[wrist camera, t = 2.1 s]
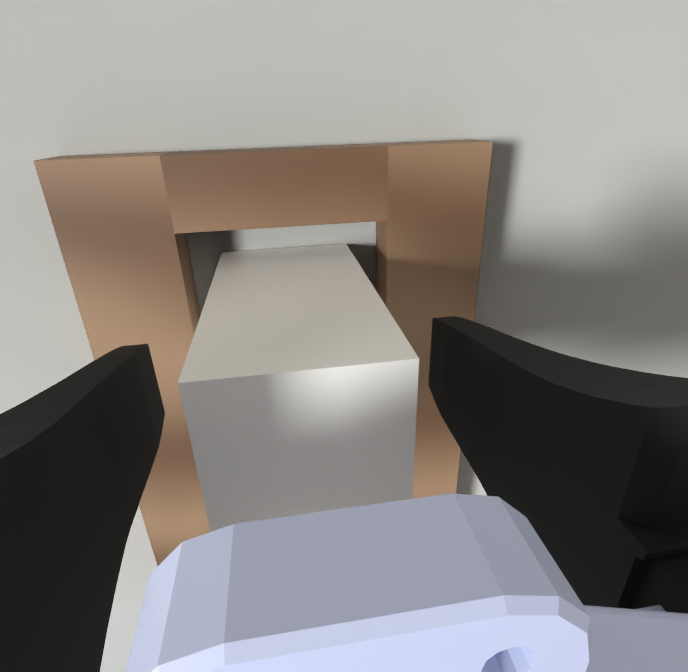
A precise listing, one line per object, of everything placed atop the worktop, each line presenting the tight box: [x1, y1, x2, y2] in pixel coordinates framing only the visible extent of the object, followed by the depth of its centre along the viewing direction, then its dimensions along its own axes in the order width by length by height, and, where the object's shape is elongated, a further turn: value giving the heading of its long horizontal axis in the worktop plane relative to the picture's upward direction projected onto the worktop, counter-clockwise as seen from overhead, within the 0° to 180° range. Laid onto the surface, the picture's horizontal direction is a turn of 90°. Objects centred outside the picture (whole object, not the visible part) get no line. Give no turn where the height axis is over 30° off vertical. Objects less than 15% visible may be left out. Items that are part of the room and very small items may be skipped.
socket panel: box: [34, 140, 493, 566], centre depth 17 cm, size 20×12×2 cm, turn 2°
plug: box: [178, 244, 419, 532], centre depth 12 cm, size 4×4×8 cm
